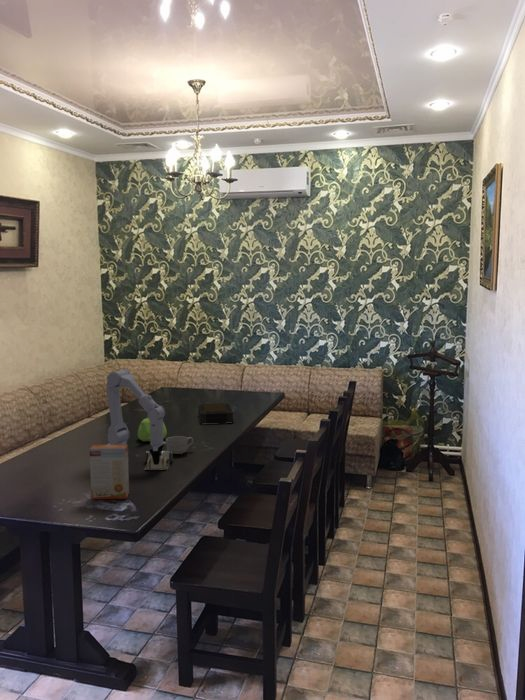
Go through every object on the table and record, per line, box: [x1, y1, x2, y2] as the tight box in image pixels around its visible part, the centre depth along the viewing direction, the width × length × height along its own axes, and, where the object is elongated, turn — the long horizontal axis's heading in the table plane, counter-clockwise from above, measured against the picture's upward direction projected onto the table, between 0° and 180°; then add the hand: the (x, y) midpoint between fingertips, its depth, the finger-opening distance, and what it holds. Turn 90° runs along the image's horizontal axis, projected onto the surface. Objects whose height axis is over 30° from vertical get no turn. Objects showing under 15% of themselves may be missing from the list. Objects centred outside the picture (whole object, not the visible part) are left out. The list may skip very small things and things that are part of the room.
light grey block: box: [151, 456, 163, 468], centre depth 268 cm, size 5×5×6 cm
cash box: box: [197, 403, 234, 423], centre depth 360 cm, size 25×20×8 cm
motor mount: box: [144, 450, 174, 470], centre depth 272 cm, size 13×15×6 cm
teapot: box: [137, 417, 168, 442], centre depth 313 cm, size 22×15×13 cm
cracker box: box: [89, 444, 130, 500], centre depth 232 cm, size 14×6×21 cm, turn 92°
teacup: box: [165, 435, 194, 455], centre depth 291 cm, size 14×11×8 cm
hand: (157, 461), depth 269 cm, fingers open, 7 cm apart
